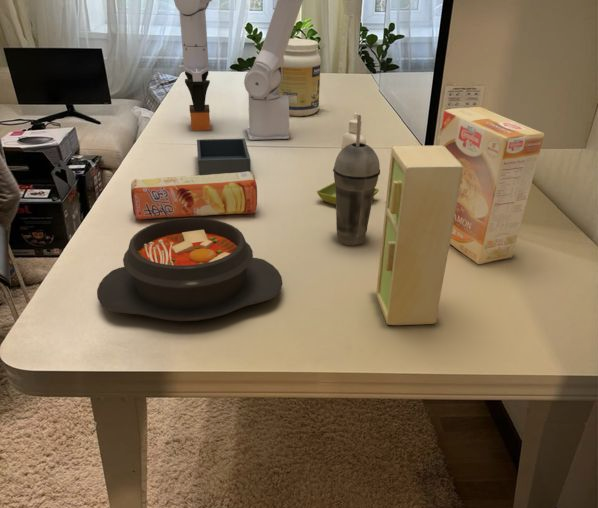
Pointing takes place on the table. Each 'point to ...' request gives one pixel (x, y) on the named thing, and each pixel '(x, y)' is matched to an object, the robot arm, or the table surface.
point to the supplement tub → (301, 76)
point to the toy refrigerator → (417, 232)
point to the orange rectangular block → (200, 119)
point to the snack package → (194, 195)
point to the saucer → (332, 193)
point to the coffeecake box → (489, 179)
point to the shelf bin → (222, 156)
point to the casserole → (188, 272)
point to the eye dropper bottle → (352, 133)
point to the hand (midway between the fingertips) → (199, 107)
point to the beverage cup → (354, 189)
